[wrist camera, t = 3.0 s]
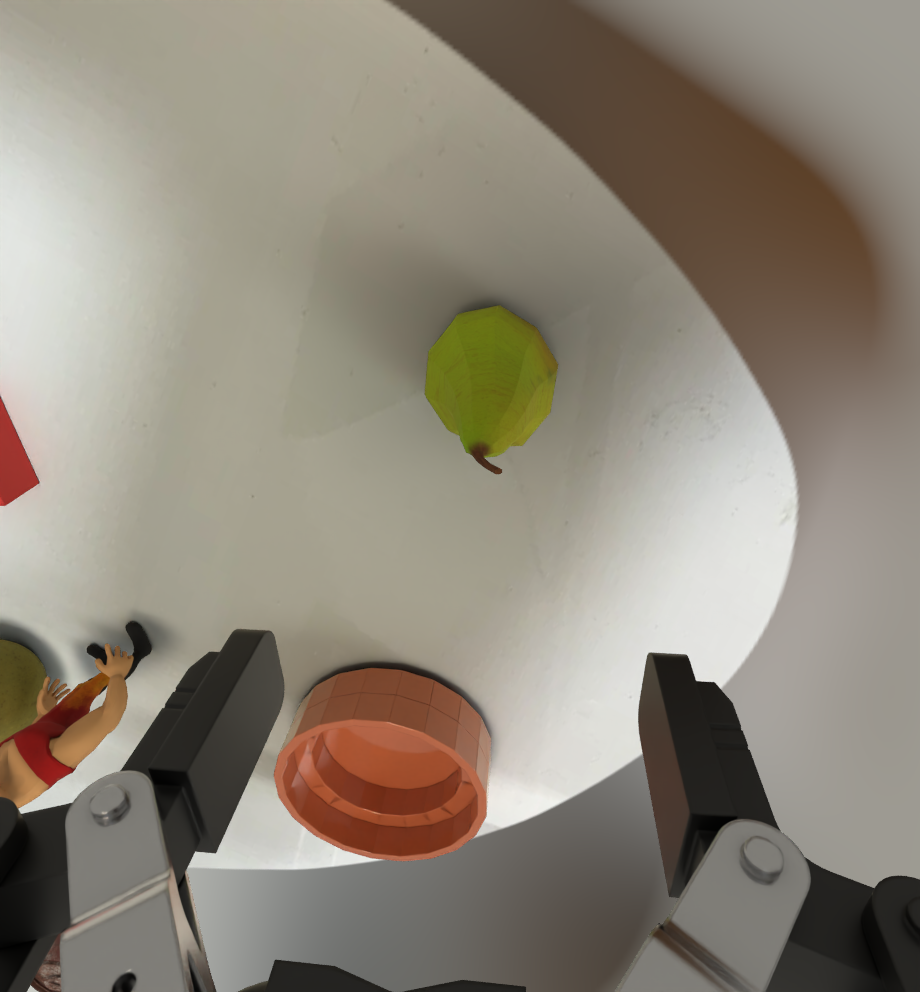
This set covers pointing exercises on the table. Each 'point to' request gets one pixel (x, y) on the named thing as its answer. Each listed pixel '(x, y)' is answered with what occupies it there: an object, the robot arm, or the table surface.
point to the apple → (18, 687)
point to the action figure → (68, 724)
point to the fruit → (491, 381)
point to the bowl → (386, 765)
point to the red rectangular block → (13, 462)
